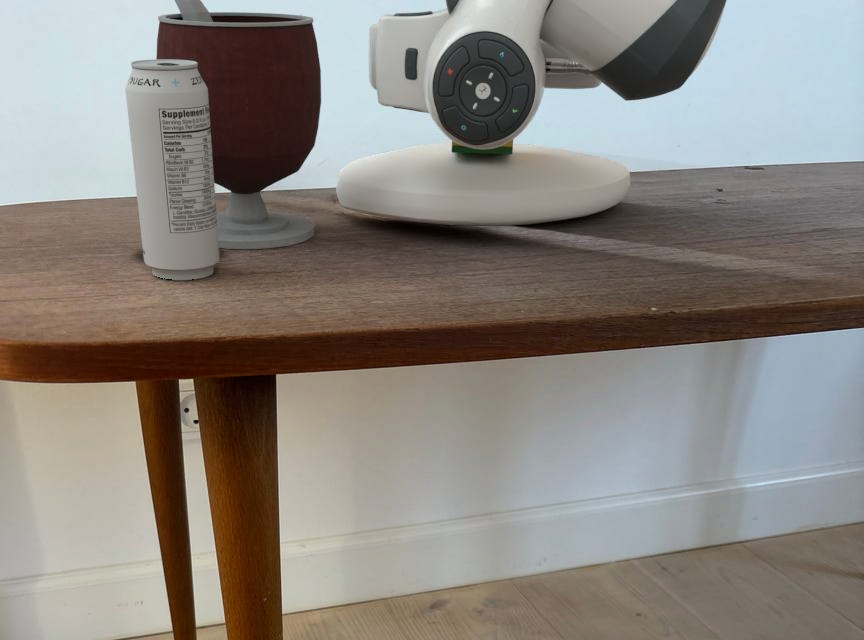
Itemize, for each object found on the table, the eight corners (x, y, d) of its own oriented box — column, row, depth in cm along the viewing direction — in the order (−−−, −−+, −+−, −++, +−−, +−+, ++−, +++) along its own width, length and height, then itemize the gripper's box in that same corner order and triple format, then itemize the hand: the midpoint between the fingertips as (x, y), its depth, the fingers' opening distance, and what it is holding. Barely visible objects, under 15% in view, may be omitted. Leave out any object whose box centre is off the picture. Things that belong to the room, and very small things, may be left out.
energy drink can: (192, 258, 89) (175, 56, 81) (235, 273, 85) (222, 63, 77) (131, 270, 86) (106, 61, 77) (172, 286, 82) (151, 68, 74)
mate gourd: (352, 229, 99) (352, -23, 87) (257, 260, 89) (243, -19, 78) (227, 206, 106) (212, -29, 94) (126, 232, 96) (96, -27, 85)
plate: (285, 171, 96) (402, 133, 117) (293, 246, 100) (406, 196, 120) (584, 164, 85) (657, 123, 106) (582, 248, 89) (653, 193, 109)
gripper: (623, 22, 81) (608, 10, 92) (359, 15, 82) (376, 4, 94) (612, 113, 84) (598, 90, 96) (359, 104, 86) (375, 83, 97)
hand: (487, 48), depth 95 cm, fingers closed on dish wand, 3 cm apart
